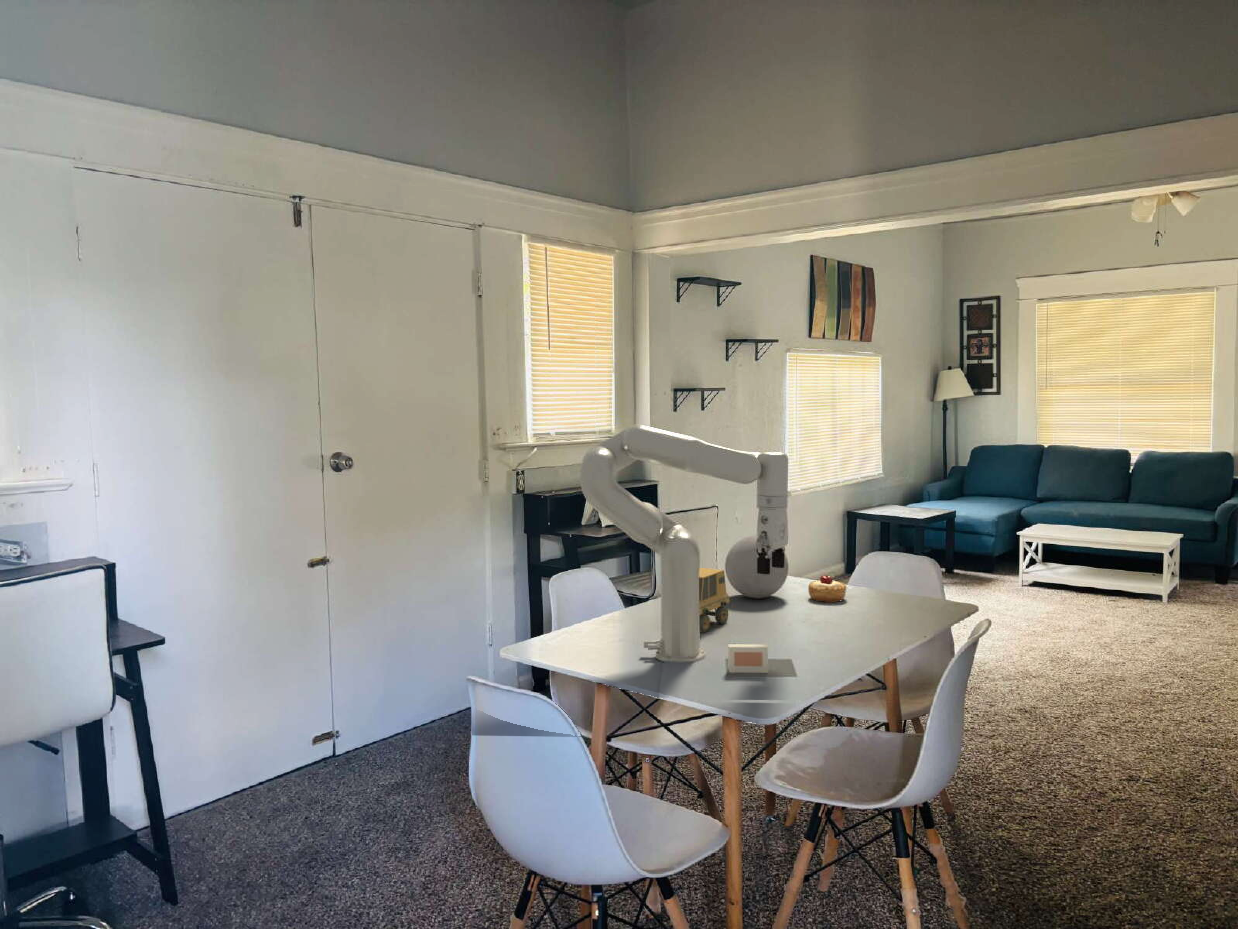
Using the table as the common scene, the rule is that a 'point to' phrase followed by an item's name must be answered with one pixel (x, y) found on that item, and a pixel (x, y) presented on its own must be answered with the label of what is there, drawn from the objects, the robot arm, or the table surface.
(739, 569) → the ball
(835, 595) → the pastry
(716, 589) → the toy car
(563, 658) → the table surface
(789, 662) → the mat
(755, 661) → the card box
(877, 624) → the table surface
